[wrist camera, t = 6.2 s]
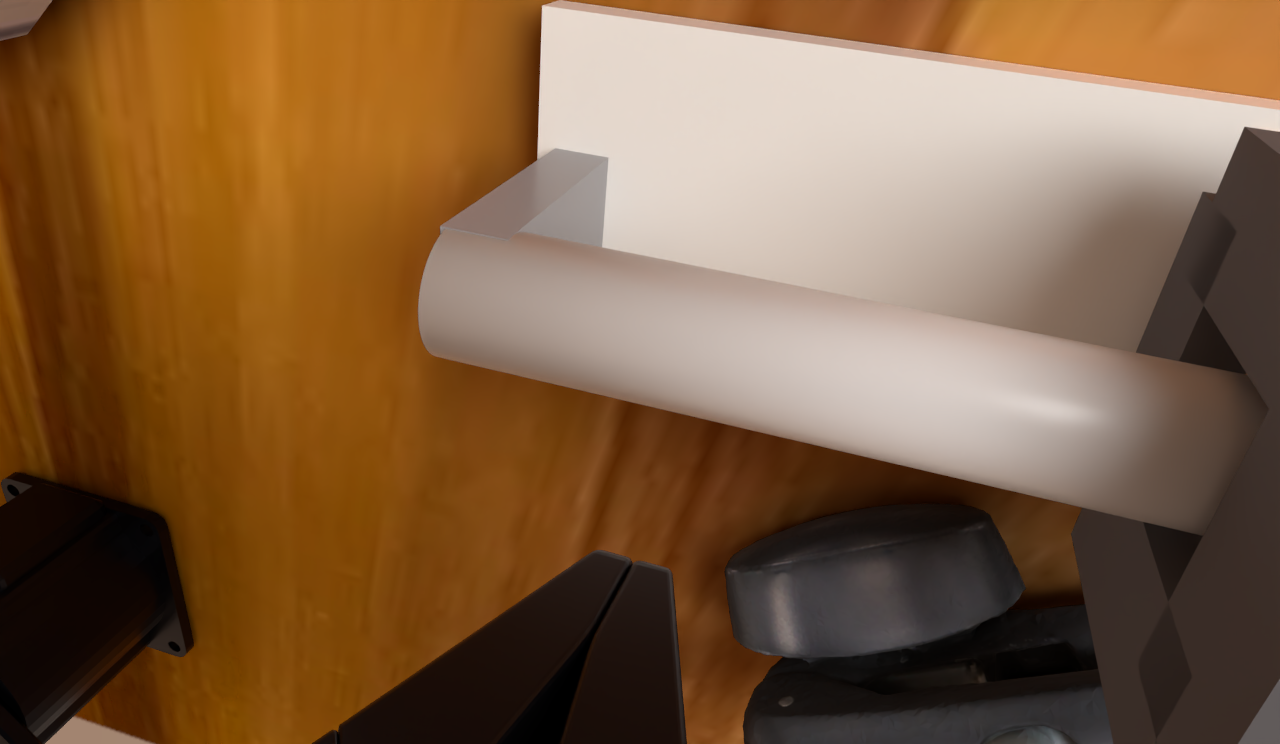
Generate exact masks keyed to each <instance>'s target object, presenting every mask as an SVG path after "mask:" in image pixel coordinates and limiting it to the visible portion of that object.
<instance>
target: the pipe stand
mask: <svg viewBox="0 0 1280 744" xmlns="http://www.w3.org/2000/svg"><path fill="white" fill-rule="evenodd" d="M1244 127H1250V128H1257V129H1264V130H1271V131H1278V132H1280V101H1279V100H1272V99H1265V98H1258V97H1251V96H1243V95H1236V94H1229V93H1222V92H1215V91H1207V90H1200V89H1193V88H1186V87H1179V86H1172V85H1164V84H1157V83H1150V82H1143V81H1136V80H1129V79H1121V78H1114V77H1107V76H1100V75H1093V74H1086V73H1078V72H1071V71H1064V70H1057V69H1050V68H1043V67H1035V66H1028V65H1021V64H1014V63H1007V62H1000V61H992V60H985V59H978V58H971V57H964V56H957V55H949V54H942V53H935V52H928V51H921V50H914V49H906V48H899V47H892V46H885V45H878V44H871V43H863V42H856V41H849V40H842V39H835V38H828V37H820V36H813V35H806V34H799V33H792V32H785V31H777V30H770V29H763V28H756V27H749V26H742V25H734V24H727V23H720V22H713V21H706V20H699V19H691V18H684V17H677V16H670V15H663V14H656V13H648V12H641V11H634V10H627V9H620V8H613V7H605V6H598V5H591V4H584V3H577V2H570V1H562V0H559V1H556V2H553V3H549V4H546V5H542V28H541V59H540V91H539V122H538V154H537V161H535V162H534V163H533V164H531V165H530V166H528V167H527V168H525V169H524V170H522V171H521V172H519V173H518V174H516V175H515V176H513V177H512V178H510V179H509V180H507V181H506V182H504V183H503V184H502V185H500V186H499V187H497V188H496V189H494V190H493V191H491V192H490V193H488V194H487V195H485V196H484V197H482V198H481V199H479V200H478V201H476V202H475V203H473V204H472V205H471V206H469V207H468V208H466V209H465V210H463V211H462V212H460V213H459V214H457V215H456V216H454V217H453V218H451V219H450V220H448V221H447V222H445V223H444V224H442V225H441V226H440V236H439V237H438V239H437V241H436V242H435V244H434V246H433V248H432V250H431V252H430V255H429V258H428V260H427V263H426V266H425V269H424V273H423V277H422V281H421V287H420V293H419V303H418V321H419V330H420V335H421V338H422V341H423V344H424V346H425V348H426V349H427V351H428V352H429V353H430V354H432V355H433V356H436V357H440V358H444V359H448V360H453V361H457V362H461V363H465V364H470V365H474V366H478V367H483V368H487V369H491V370H495V371H500V372H504V373H508V374H513V375H517V376H521V377H525V378H530V379H534V380H538V381H543V382H547V383H551V384H555V385H560V386H564V387H568V388H572V389H577V390H581V391H585V392H590V393H594V394H598V395H602V396H607V397H611V398H615V399H620V400H624V401H628V402H632V403H637V404H641V405H645V406H650V407H654V408H658V409H662V410H667V411H671V412H675V413H679V414H684V415H688V416H692V417H697V418H701V419H705V420H709V421H714V422H718V423H722V424H727V425H731V426H735V427H739V428H744V429H748V430H752V431H757V432H761V433H765V434H769V435H774V436H778V437H782V438H786V439H791V440H795V441H799V442H804V443H808V444H812V445H816V446H821V447H825V448H829V449H834V450H838V451H842V452H846V453H851V454H855V455H859V456H864V457H868V458H872V459H876V460H881V461H885V462H889V463H893V464H898V465H902V466H906V467H911V468H915V469H919V470H923V471H928V472H932V473H936V474H941V475H945V476H949V477H953V478H958V479H962V480H966V481H971V482H975V483H979V484H983V485H988V486H992V487H996V488H1000V489H1005V490H1009V491H1013V492H1018V493H1022V494H1026V495H1030V496H1035V497H1039V498H1043V499H1048V500H1052V501H1056V502H1060V503H1065V504H1069V505H1073V506H1078V507H1082V508H1086V509H1090V510H1095V511H1099V512H1103V513H1107V514H1112V515H1116V516H1120V517H1125V518H1129V519H1133V520H1137V521H1142V522H1146V523H1150V524H1155V525H1159V526H1163V527H1167V528H1172V529H1176V530H1180V531H1185V532H1189V533H1193V534H1197V535H1202V536H1203V535H1204V533H1205V531H1206V529H1207V527H1208V525H1209V523H1210V521H1211V519H1212V518H1213V516H1214V514H1215V512H1216V510H1217V508H1218V506H1219V504H1220V502H1221V500H1222V498H1223V496H1224V495H1225V493H1226V491H1227V489H1228V487H1229V485H1230V483H1231V481H1232V479H1233V477H1234V475H1235V473H1236V472H1237V470H1238V468H1239V466H1240V464H1241V462H1242V460H1243V458H1244V456H1245V454H1246V452H1247V450H1248V449H1249V447H1250V445H1251V443H1252V441H1253V439H1254V437H1255V435H1256V433H1257V431H1258V429H1259V427H1260V426H1261V424H1262V422H1263V420H1264V418H1265V416H1266V414H1267V412H1268V410H1269V408H1268V407H1267V405H1266V404H1265V402H1264V400H1263V399H1262V397H1261V396H1260V394H1259V392H1258V391H1257V389H1256V388H1255V386H1254V384H1253V383H1252V381H1251V380H1250V378H1249V377H1248V375H1247V374H1240V373H1235V372H1230V371H1225V370H1220V369H1215V368H1210V367H1205V366H1200V365H1195V364H1190V363H1185V362H1180V361H1175V360H1170V359H1165V358H1160V357H1155V356H1149V355H1144V354H1139V353H1136V350H1137V348H1138V346H1139V343H1140V341H1141V338H1142V336H1143V334H1144V331H1145V329H1146V326H1147V324H1148V322H1149V319H1150V317H1151V314H1152V312H1153V310H1154V307H1155V305H1156V303H1157V300H1158V298H1159V295H1160V293H1161V291H1162V288H1163V286H1164V283H1165V281H1166V279H1167V276H1168V274H1169V271H1170V269H1171V267H1172V264H1173V262H1174V259H1175V257H1176V255H1177V252H1178V250H1179V247H1180V245H1181V243H1182V240H1183V238H1184V235H1185V233H1186V231H1187V228H1188V226H1189V224H1190V221H1191V219H1192V216H1193V214H1194V212H1195V209H1196V207H1197V204H1198V202H1199V200H1200V197H1201V195H1202V192H1209V193H1215V194H1216V192H1217V190H1218V188H1219V185H1220V183H1221V181H1222V178H1223V176H1224V174H1225V171H1226V169H1227V167H1228V164H1229V162H1230V160H1231V157H1232V155H1233V152H1234V150H1235V148H1236V145H1237V143H1238V141H1239V138H1240V136H1241V134H1242V131H1243V129H1244Z"/></svg>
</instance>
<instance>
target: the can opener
mask: <svg viewBox="0 0 1280 744" xmlns="http://www.w3.org/2000/svg"><path fill="white" fill-rule="evenodd" d="M725 577H726V588H727V599H728V605H729V613H730V618H731V623H732V629H733V635H734V638H735V639H736V640H737V641H738V642H739V643H740V644H741V645H743V646H744V647H745V648H748V649H751V650H753V651H755V652H759V653H762V654H764V655H773V656H782V657H783V658H782V659H780V660H779V661H778V662H777V663H776V664H775V665H774V666H773V667H771V669H770V670H769V671H768V673H767V675H766V676H765V678H764V679H763V682H761V683H760V684H759V685H758V686H757V687H756V688H755V689H754V692H753V694H752V696H751V698H750V701H749V703H748V706H747V708H746V711H745V714H744V723H743V730H744V744H1113V739H1112V734H1111V729H1110V724H1109V719H1108V714H1107V709H1106V704H1105V699H1104V694H1103V689H1102V684H1101V679H1100V674H1099V669H1098V664H1097V660H1096V655H1095V650H1094V645H1093V640H1092V635H1091V630H1090V625H1089V620H1088V615H1087V610H1086V605H1085V604H1080V605H1072V606H1061V607H1053V608H1041V609H1031V610H1007V609H1008V608H1009V607H1012V606H1013V605H1014V604H1015V602H1016V601H1017V600H1018V599H1019V598H1020V596H1021V594H1022V592H1023V591H1024V590H1025V589H1026V587H1025V585H1024V583H1023V580H1022V578H1021V576H1020V573H1019V571H1018V569H1017V567H1016V566H1015V564H1014V562H1013V559H1012V556H1011V555H1010V553H1009V551H1008V549H1007V546H1006V544H1005V542H1004V540H1003V539H1002V537H1001V535H1000V533H999V531H998V529H997V528H996V526H995V524H994V522H993V520H992V518H991V516H990V515H989V514H988V513H986V512H985V511H983V510H980V509H977V508H974V507H969V506H964V505H951V504H899V505H887V506H879V507H872V508H866V509H858V510H853V511H848V512H843V513H839V514H835V515H831V516H825V517H822V518H819V519H816V520H812V521H809V522H805V523H802V524H799V525H797V526H794V527H791V528H789V529H786V530H784V531H781V532H778V533H775V534H773V535H770V536H768V537H765V538H763V539H761V540H758V541H756V542H755V543H753V544H751V545H750V546H748V547H746V548H744V549H742V550H740V551H739V552H737V553H735V554H734V555H733V556H732V557H731V559H730V560H729V562H728V564H727V566H726V567H725Z"/></svg>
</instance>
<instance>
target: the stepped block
mask: <svg viewBox="0 0 1280 744" xmlns="http://www.w3.org/2000/svg"><path fill="white" fill-rule="evenodd" d="M1136 353H1139V354H1144V355H1149V356H1155V357H1160V358H1165V359H1170V360H1175V361H1180V362H1185V363H1190V364H1195V365H1200V366H1205V367H1210V368H1215V369H1220V370H1225V371H1230V372H1235V373H1240V374H1247V375H1248V377H1249V378H1250V380H1251V381H1252V383H1253V384H1254V386H1255V388H1256V389H1257V391H1258V392H1259V394H1260V396H1261V397H1262V399H1263V400H1264V402H1265V404H1266V405H1267V407H1268V408H1269V410H1268V412H1267V414H1266V416H1265V418H1264V420H1263V422H1262V424H1261V426H1260V427H1259V429H1258V431H1257V433H1256V435H1255V437H1254V439H1253V441H1252V443H1251V445H1250V447H1249V449H1248V450H1247V452H1246V454H1245V456H1244V458H1243V460H1242V462H1241V464H1240V466H1239V468H1238V470H1237V472H1236V473H1235V475H1234V477H1233V479H1232V481H1231V483H1230V485H1229V487H1228V489H1227V491H1226V493H1225V495H1224V496H1223V498H1222V500H1221V502H1220V504H1219V506H1218V508H1217V510H1216V512H1215V514H1214V516H1213V518H1212V519H1211V521H1210V523H1209V525H1208V527H1207V529H1206V531H1205V533H1204V535H1203V536H1202V535H1197V534H1193V533H1189V532H1185V531H1180V530H1176V529H1172V528H1167V527H1163V526H1159V525H1155V524H1150V523H1146V522H1142V521H1137V520H1133V519H1129V518H1125V517H1120V516H1116V515H1112V514H1107V513H1103V512H1099V511H1095V510H1090V509H1086V508H1082V509H1081V512H1080V514H1079V516H1078V519H1077V521H1076V524H1075V526H1074V528H1073V531H1072V533H1071V536H1072V541H1073V546H1074V551H1075V556H1076V561H1077V565H1078V570H1079V575H1080V580H1081V585H1082V590H1083V595H1084V600H1085V605H1086V610H1087V615H1088V620H1089V625H1090V630H1091V635H1092V640H1093V645H1094V650H1095V655H1096V660H1097V664H1098V669H1099V674H1100V679H1101V684H1102V689H1103V694H1104V699H1105V704H1106V709H1107V714H1108V719H1109V724H1110V729H1111V734H1112V739H1113V744H1280V132H1278V131H1271V130H1264V129H1257V128H1250V127H1244V129H1243V131H1242V134H1241V136H1240V138H1239V141H1238V143H1237V145H1236V148H1235V150H1234V152H1233V155H1232V157H1231V160H1230V162H1229V164H1228V167H1227V169H1226V171H1225V174H1224V176H1223V178H1222V181H1221V183H1220V185H1219V188H1218V190H1217V192H1216V194H1215V193H1209V192H1202V195H1201V197H1200V200H1199V202H1198V204H1197V207H1196V209H1195V212H1194V214H1193V216H1192V219H1191V221H1190V224H1189V226H1188V228H1187V231H1186V233H1185V235H1184V238H1183V240H1182V243H1181V245H1180V247H1179V250H1178V252H1177V255H1176V257H1175V259H1174V262H1173V264H1172V267H1171V269H1170V271H1169V274H1168V276H1167V279H1166V281H1165V283H1164V286H1163V288H1162V291H1161V293H1160V295H1159V298H1158V300H1157V303H1156V305H1155V307H1154V310H1153V312H1152V314H1151V317H1150V319H1149V322H1148V324H1147V326H1146V329H1145V331H1144V334H1143V336H1142V338H1141V341H1140V343H1139V346H1138V348H1137V350H1136Z"/></svg>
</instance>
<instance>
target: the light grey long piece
mask: <svg viewBox="0 0 1280 744" xmlns="http://www.w3.org/2000/svg"><path fill="white" fill-rule="evenodd" d="M51 2H52V0H0V41H1V40H6V39H10V38H14V37H19V36H23V35H27V34H28V33H29V32H30V30H31V29H32V27H33V26H34V25H35V23H36V22H37V21H38V19H39V18H40V17H41V15H42V14H43V12H44V11H45V10H46V8H47V7H48V6H49V4H50V3H51Z"/></svg>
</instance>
